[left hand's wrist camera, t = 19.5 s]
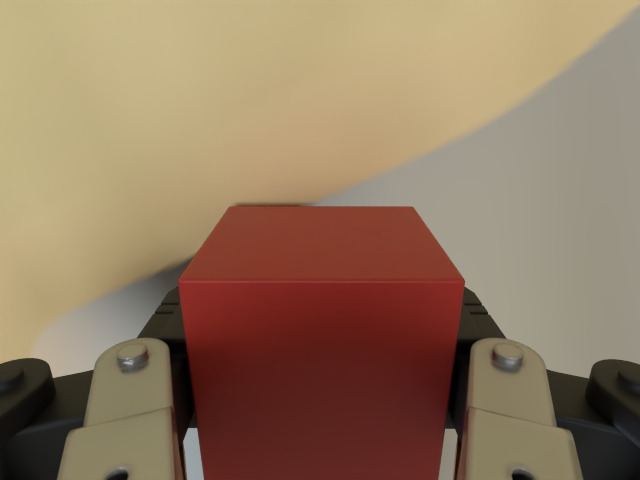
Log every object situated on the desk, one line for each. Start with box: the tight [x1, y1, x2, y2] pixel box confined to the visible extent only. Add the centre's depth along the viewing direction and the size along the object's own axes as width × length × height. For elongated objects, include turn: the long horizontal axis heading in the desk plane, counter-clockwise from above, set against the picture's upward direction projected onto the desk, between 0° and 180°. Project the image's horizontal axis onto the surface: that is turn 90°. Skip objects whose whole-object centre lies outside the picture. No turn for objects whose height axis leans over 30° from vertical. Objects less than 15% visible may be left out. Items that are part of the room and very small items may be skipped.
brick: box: [178, 206, 465, 480], centre depth 10 cm, size 5×5×4 cm
